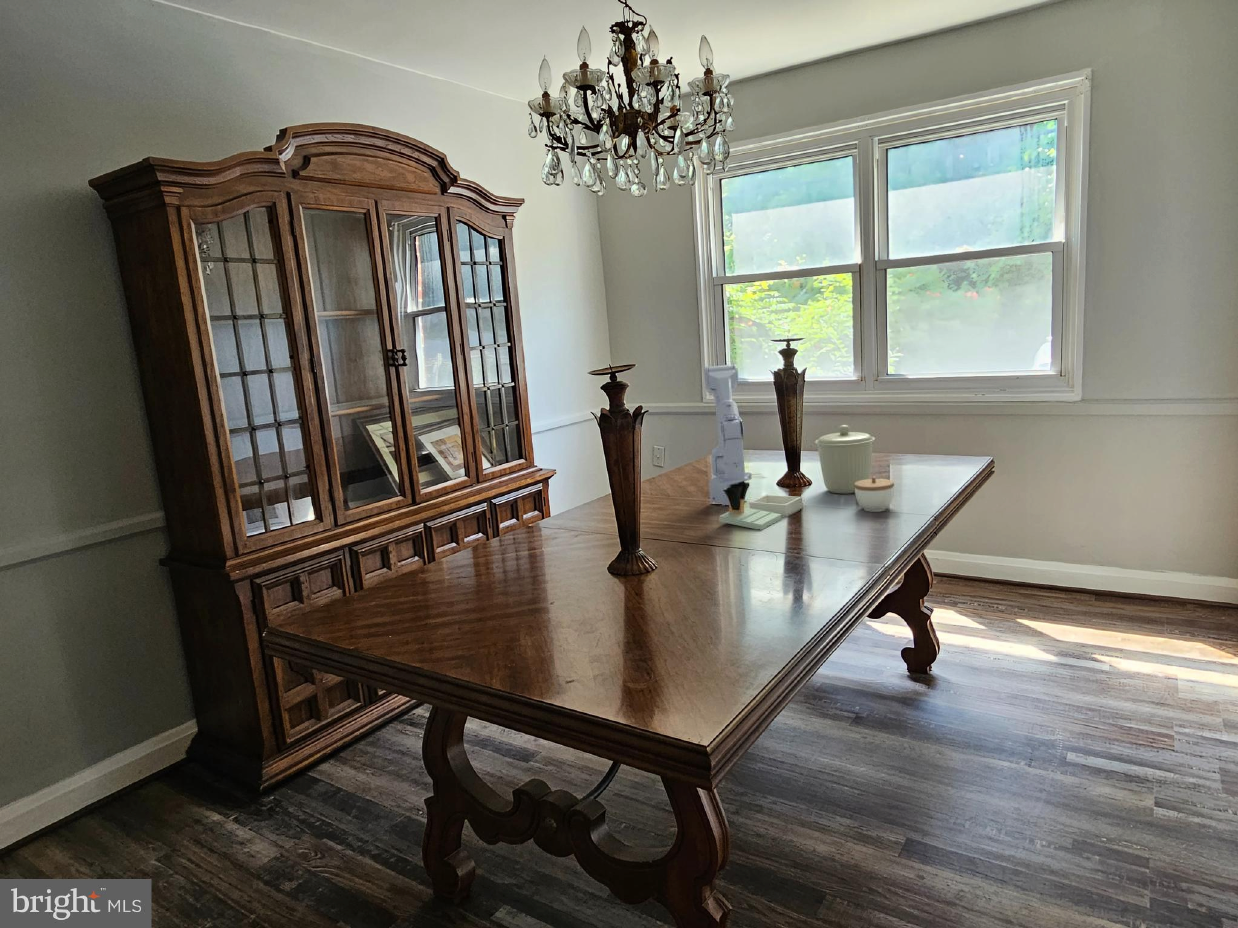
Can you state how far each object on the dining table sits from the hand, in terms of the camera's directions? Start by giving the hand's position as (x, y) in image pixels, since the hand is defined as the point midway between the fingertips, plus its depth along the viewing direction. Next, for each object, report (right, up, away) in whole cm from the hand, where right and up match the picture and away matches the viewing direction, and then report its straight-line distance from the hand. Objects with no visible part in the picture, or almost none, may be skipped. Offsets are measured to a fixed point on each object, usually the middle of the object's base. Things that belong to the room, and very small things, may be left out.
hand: (737, 508), depth 219 cm
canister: (+39, +4, +25) cm, 46 cm away
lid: (+3, -2, -2) cm, 5 cm away
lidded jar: (+39, 0, -1) cm, 39 cm away
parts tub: (+13, -1, +8) cm, 15 cm away
